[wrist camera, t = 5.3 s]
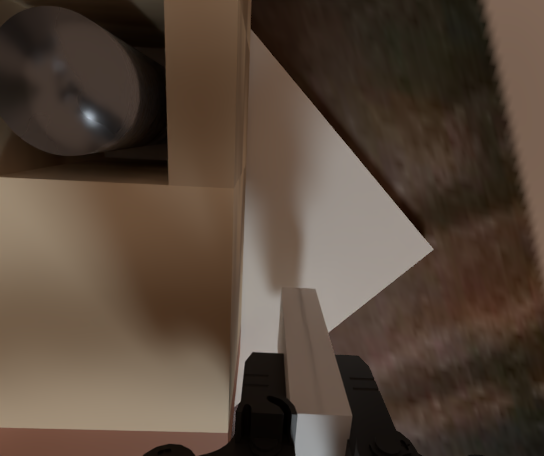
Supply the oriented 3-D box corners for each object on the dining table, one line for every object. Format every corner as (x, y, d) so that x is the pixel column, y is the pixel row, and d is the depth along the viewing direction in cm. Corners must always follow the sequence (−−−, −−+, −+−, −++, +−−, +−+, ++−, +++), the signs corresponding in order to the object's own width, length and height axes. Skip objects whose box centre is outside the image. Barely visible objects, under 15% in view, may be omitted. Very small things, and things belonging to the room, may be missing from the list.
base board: (-211, 98, 14) (-238, 96, 13) (30, -232, 11) (13, -259, 11) (193, 428, 19) (190, 441, 18) (425, 243, 16) (433, 249, 15)
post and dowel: (-46, 233, 16) (-316, 322, 8) (139, 30, 14) (-3, -83, 6) (27, 292, 16) (-161, 422, 9) (211, 110, 14) (158, 89, 7)
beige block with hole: (44, -57, 12) (-163, -233, 6) (253, -43, 12) (243, -198, 6) (84, 346, 16) (-17, 469, 10) (240, 351, 16) (226, 474, 10)
